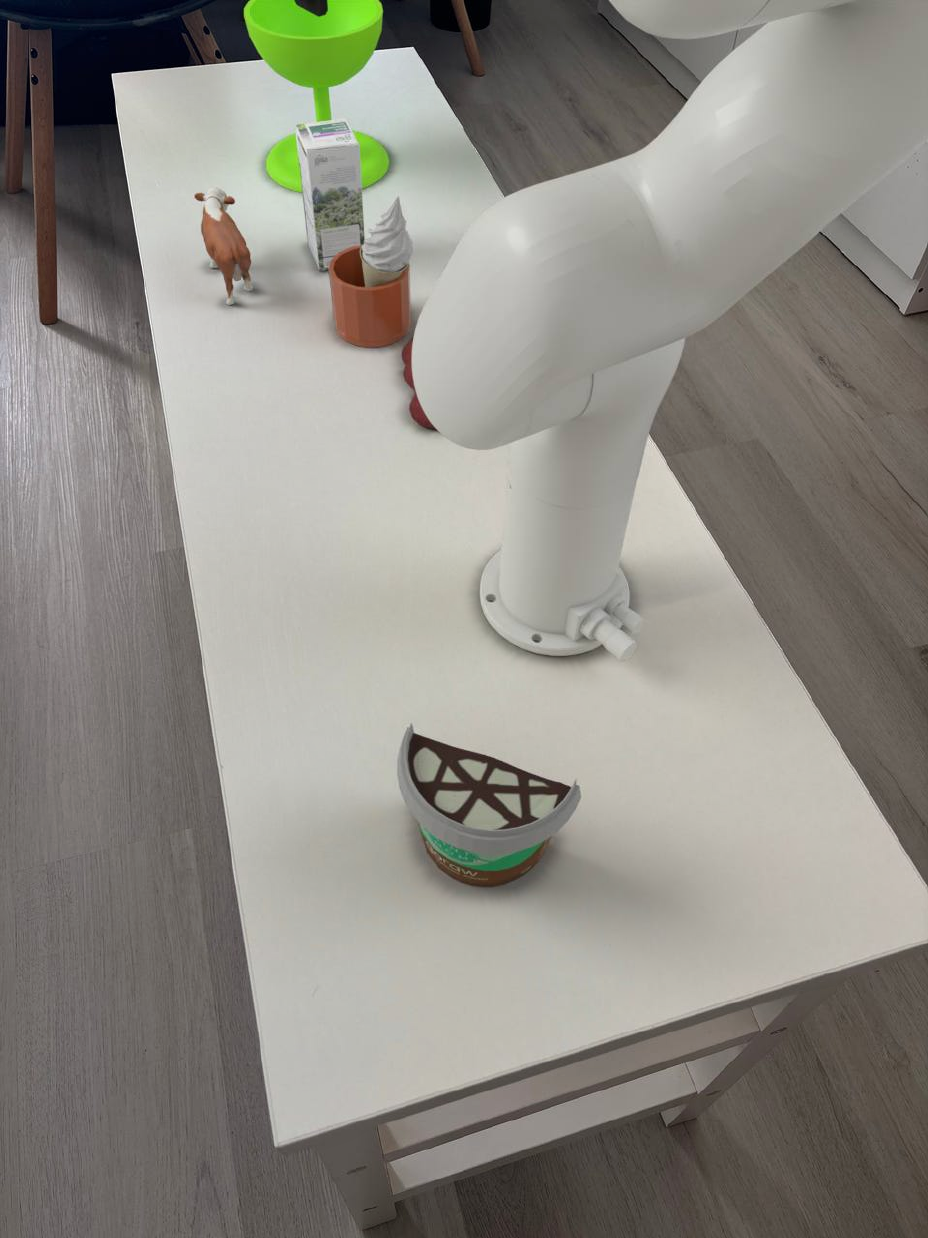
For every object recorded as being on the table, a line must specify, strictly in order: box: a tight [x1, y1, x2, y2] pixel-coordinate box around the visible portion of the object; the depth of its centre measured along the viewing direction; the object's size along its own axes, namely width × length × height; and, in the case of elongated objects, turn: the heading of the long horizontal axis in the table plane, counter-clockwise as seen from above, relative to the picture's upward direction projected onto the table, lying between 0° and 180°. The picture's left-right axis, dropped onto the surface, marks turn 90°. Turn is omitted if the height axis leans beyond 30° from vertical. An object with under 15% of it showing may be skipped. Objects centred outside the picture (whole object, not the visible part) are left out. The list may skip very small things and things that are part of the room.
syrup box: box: [294, 117, 366, 272], centre depth 108 cm, size 6×6×14 cm
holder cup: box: [328, 245, 412, 348], centre depth 103 cm, size 8×8×7 cm
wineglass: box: [243, 0, 390, 194], centre depth 120 cm, size 16×16×18 cm
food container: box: [396, 722, 582, 888], centre depth 65 cm, size 12×6×10 cm, turn 69°
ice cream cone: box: [360, 196, 413, 287], centre depth 99 cm, size 5×5×15 cm
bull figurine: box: [194, 186, 253, 306], centre depth 108 cm, size 4×13×8 cm, turn 18°
